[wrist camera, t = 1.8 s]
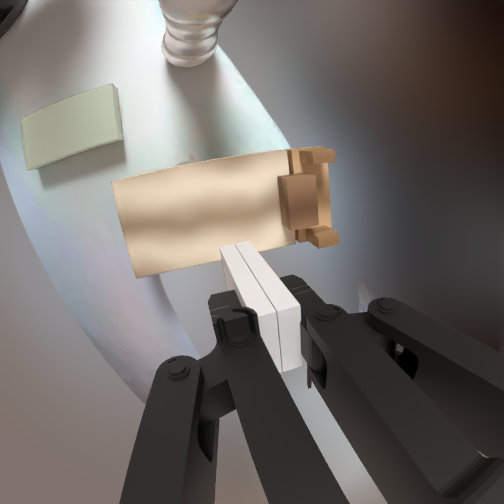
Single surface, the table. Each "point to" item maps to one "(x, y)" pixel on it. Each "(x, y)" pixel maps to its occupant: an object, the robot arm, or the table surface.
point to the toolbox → (316, 164)
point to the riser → (72, 126)
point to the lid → (201, 210)
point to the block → (298, 200)
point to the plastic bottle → (192, 29)
